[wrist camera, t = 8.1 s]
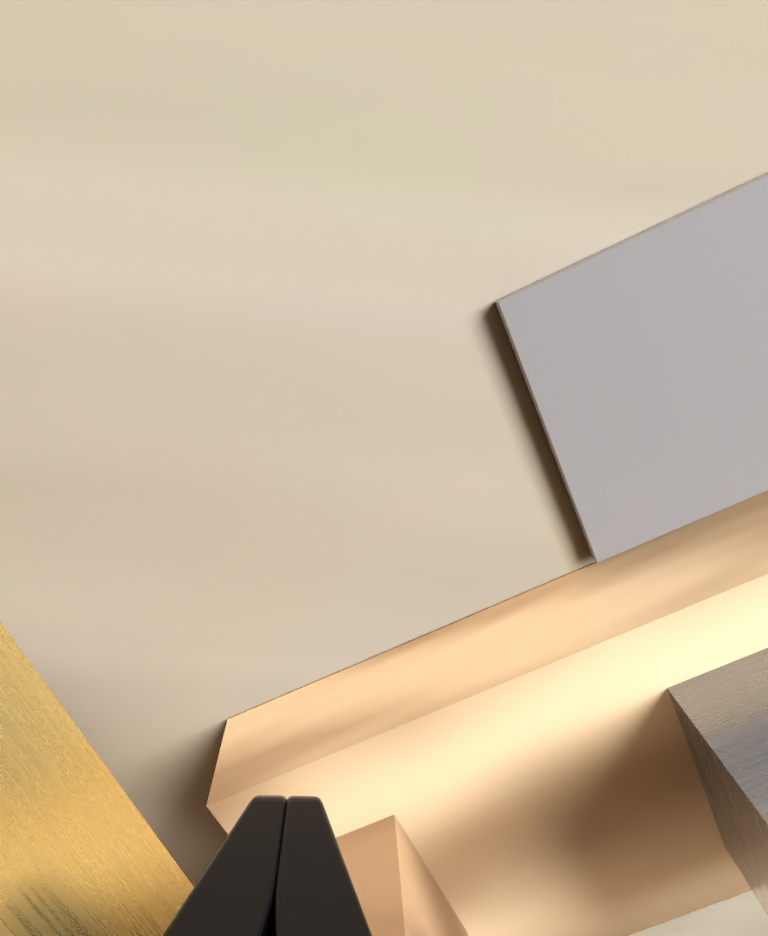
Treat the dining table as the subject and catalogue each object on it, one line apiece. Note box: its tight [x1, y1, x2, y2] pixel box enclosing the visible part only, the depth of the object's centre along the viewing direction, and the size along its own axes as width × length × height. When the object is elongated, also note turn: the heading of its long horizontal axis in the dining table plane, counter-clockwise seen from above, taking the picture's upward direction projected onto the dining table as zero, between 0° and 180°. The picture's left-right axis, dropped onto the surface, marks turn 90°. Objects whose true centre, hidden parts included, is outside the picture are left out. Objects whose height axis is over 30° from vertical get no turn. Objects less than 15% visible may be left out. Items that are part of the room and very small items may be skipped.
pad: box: [495, 172, 768, 563], centre depth 15 cm, size 8×9×1 cm
